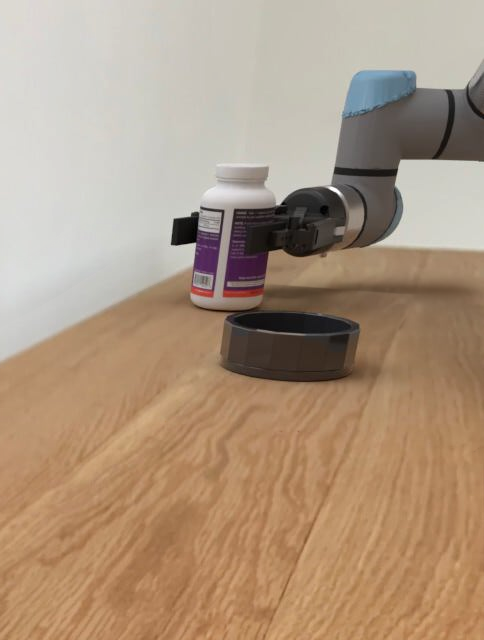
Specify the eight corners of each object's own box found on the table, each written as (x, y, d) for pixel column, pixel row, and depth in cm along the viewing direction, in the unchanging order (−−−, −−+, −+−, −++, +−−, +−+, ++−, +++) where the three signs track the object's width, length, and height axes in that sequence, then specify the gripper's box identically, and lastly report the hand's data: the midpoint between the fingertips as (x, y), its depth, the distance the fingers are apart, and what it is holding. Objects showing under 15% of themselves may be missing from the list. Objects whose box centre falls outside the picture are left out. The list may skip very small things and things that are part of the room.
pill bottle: (266, 303, 128) (288, 163, 121) (253, 315, 122) (275, 168, 114) (197, 298, 131) (214, 161, 123) (180, 309, 125) (197, 165, 117)
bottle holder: (351, 357, 104) (360, 315, 102) (351, 385, 94) (361, 339, 92) (225, 348, 107) (231, 306, 105) (213, 375, 97) (219, 329, 95)
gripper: (395, 264, 128) (293, 285, 115) (235, 245, 142) (127, 262, 128) (410, 192, 125) (306, 205, 111) (244, 180, 138) (134, 190, 124)
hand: (210, 236), depth 120 cm, fingers open, 9 cm apart
